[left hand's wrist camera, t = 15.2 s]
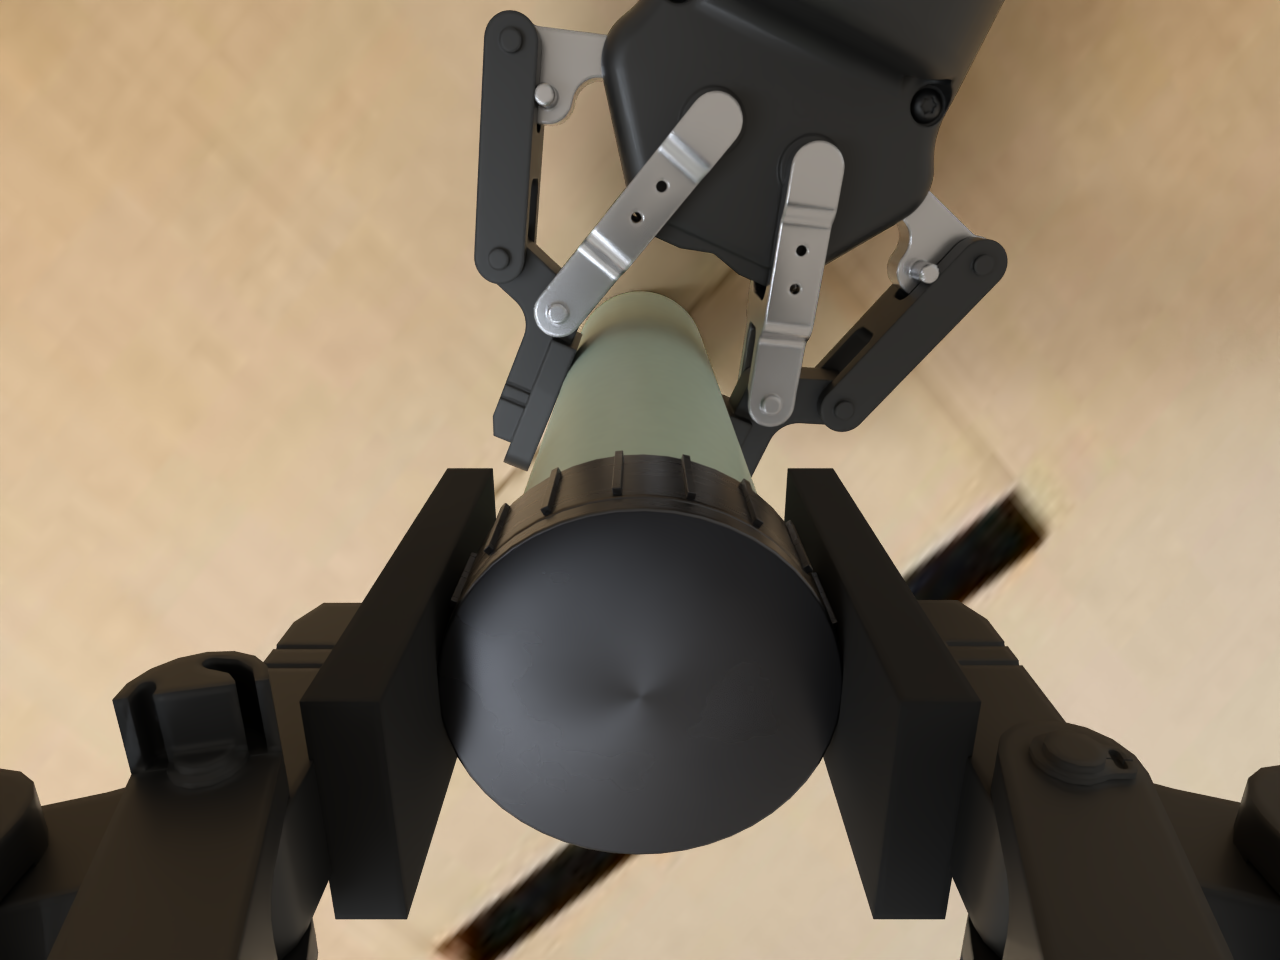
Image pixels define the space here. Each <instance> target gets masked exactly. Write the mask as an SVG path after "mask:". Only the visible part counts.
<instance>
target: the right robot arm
mask: <svg viewBox="0 0 1280 960" xmlns="http://www.w3.org/2000/svg"><path fill="white" fill-rule="evenodd" d="M1003 2H1004V0H639V1H638V2H637V3H636V5H635V6H634V7H633V8H632V9H630V10H629V11H628V12H627V13H626V14H625V15H623V16H622V17H621V18H620V19H619V20H618V21H617V22H616V23H615V24H614V25H613V27H612V28H611V30H610V31H609V33H608V35H602V34H595V33H587V32H579V31H571V30H564V29H556V28H548V27H540V26H536V25H534V24H533V23H532V22H531V21H530V19H529V18H528V17H526V16H525V15H524V14H522V13H520V12H517V11H512V10H507V11H502V12H500V13H498V14H496V15H495V16H494V17H493V18H492V19H491V20H490V21H489V23H488V25H487V27H486V30H485V35H484V54H483V76H482V98H481V120H480V142H479V164H478V186H477V208H476V230H475V252H474V260H475V265H476V268H477V270H478V271H479V273H480V274H481V275H482V277H484V278H485V279H486V280H488V281H489V282H492V283H495V284H497V285H499V286H500V287H501V288H502V289H503V290H504V291H505V292H506V293H507V294H508V295H510V296H511V297H512V298H513V299H514V300H515V301H516V302H517V303H518V304H519V306H520V307H521V309H522V311H523V313H524V316H525V320H526V330H525V334H524V337H523V340H522V342H521V345H520V347H519V350H518V353H517V355H516V358H515V360H514V363H513V366H512V368H511V371H510V373H509V376H508V379H507V381H506V384H505V386H504V389H503V391H502V394H501V397H500V399H499V402H498V404H497V407H496V410H495V412H494V415H493V432H494V436H496V437H498V438H501V439H503V440H506V441H508V442H511V444H510V446H509V449H508V451H507V454H506V456H505V459H504V462H505V463H507V464H510V465H512V466H515V467H517V468H520V469H522V470H525V471H528V468H529V466H530V464H531V461H532V459H533V456H534V454H535V451H536V449H537V447H538V444H539V442H540V439H541V437H542V434H543V432H544V430H545V427H546V425H547V422H548V420H549V417H550V415H551V412H552V410H553V408H554V405H555V403H556V400H557V398H558V395H559V393H560V390H561V387H562V385H563V382H564V380H565V378H566V376H567V374H568V371H569V369H570V366H571V364H572V361H573V359H574V356H575V354H576V352H577V349H578V346H579V343H580V340H581V337H582V334H581V333H579V332H577V330H578V327H579V326H580V324H581V323H582V322H583V321H584V320H585V318H586V317H587V316H588V315H589V314H590V312H591V311H592V310H593V309H594V307H595V306H596V305H597V304H598V303H599V301H600V300H601V299H602V298H603V297H604V295H605V294H606V293H607V292H608V291H609V289H610V288H611V287H612V286H613V284H614V283H615V282H616V281H617V280H618V279H619V277H620V276H621V275H622V274H623V273H624V272H625V271H626V270H627V269H628V268H629V267H630V266H631V265H632V263H633V262H634V261H635V260H636V259H637V257H638V256H639V255H640V254H641V253H642V251H643V250H644V249H645V248H646V246H647V245H648V244H649V243H650V242H651V240H652V239H653V238H654V237H657V238H659V239H661V240H663V241H665V242H668V243H670V244H672V245H674V246H677V247H679V248H682V249H689V250H696V251H702V252H709V253H713V254H715V255H716V256H717V257H719V258H720V259H721V260H722V261H723V262H725V263H726V264H727V265H728V266H729V267H730V268H732V269H733V270H734V271H735V272H736V273H738V274H739V275H741V276H743V277H746V278H748V279H750V280H751V282H750V288H749V295H748V302H747V324H746V331H745V337H744V344H743V350H742V357H741V363H740V370H739V376H738V382H737V384H736V386H735V388H734V391H733V393H732V395H731V397H727V396H725V395H722V397H723V400H724V403H725V406H726V408H727V411H728V414H729V417H730V420H731V422H732V425H733V428H734V431H735V434H736V436H737V439H738V442H739V445H740V448H741V450H742V453H743V456H744V459H745V462H746V464H747V467H748V470H749V473H750V476H751V477H752V475H753V473H754V471H755V469H756V467H757V465H758V463H759V461H760V459H761V457H762V455H763V453H764V451H765V449H766V447H767V445H768V443H769V441H770V440H771V438H772V436H773V435H774V434H775V433H776V432H777V431H778V430H779V429H781V428H782V427H784V426H786V425H789V424H794V423H808V424H825V425H826V426H827V427H829V428H830V429H832V430H834V431H838V432H846V431H850V430H852V429H854V428H856V427H857V426H858V425H859V424H861V422H862V421H863V420H864V419H865V418H866V417H867V416H868V415H869V414H870V413H871V412H872V411H873V410H874V409H875V408H876V407H877V406H878V405H879V404H880V403H881V402H882V401H883V400H884V399H885V398H886V397H887V396H888V395H889V394H890V393H891V392H892V391H893V390H894V389H895V388H896V387H897V385H898V384H899V383H900V382H901V381H902V380H903V379H904V378H905V377H906V376H907V375H908V374H909V373H910V372H911V371H912V370H913V369H914V368H915V367H916V366H917V365H918V364H919V363H920V362H921V361H922V360H923V359H924V358H925V357H926V356H927V355H928V354H929V353H930V352H931V351H932V349H933V348H934V347H935V346H936V345H937V344H938V343H939V342H940V341H941V340H942V339H943V338H944V337H945V336H946V335H947V334H948V333H949V332H950V331H951V330H952V329H953V328H954V327H955V326H956V325H957V324H958V323H959V322H960V321H961V320H962V319H963V318H964V317H965V316H966V315H967V314H968V312H969V311H970V310H971V309H972V308H973V307H974V306H975V305H976V304H977V303H978V302H979V301H980V300H981V299H982V298H983V297H984V296H985V295H986V294H987V293H988V292H989V291H990V290H991V289H992V288H993V287H994V286H995V285H996V284H997V283H998V282H999V281H1000V279H1001V278H1002V277H1003V275H1004V273H1005V271H1006V268H1007V255H1006V252H1005V250H1004V248H1003V247H1002V246H1001V245H1000V244H999V243H997V242H996V241H993V240H989V239H986V238H984V237H981V236H976V235H974V234H973V233H972V232H971V231H970V230H969V229H968V228H967V227H965V226H964V225H963V224H962V223H961V222H960V221H959V220H958V219H957V218H956V217H955V216H954V215H953V214H952V213H951V212H950V211H949V210H948V209H947V208H946V207H945V206H944V205H943V204H942V203H941V202H940V201H939V200H938V199H937V198H936V197H935V196H934V195H933V194H932V193H931V192H930V191H929V190H930V187H931V184H932V180H933V175H934V148H935V142H936V137H937V133H938V130H939V127H940V124H941V122H942V120H943V118H944V116H945V114H946V112H947V110H948V108H949V107H950V105H951V103H952V101H953V100H954V98H955V96H956V94H957V92H958V90H959V88H960V86H961V84H962V82H963V80H964V78H965V76H966V74H967V72H968V70H969V69H970V67H971V65H972V63H973V61H974V59H975V57H976V55H977V53H978V51H979V49H980V47H981V45H982V43H983V41H984V39H985V37H986V35H987V33H988V31H989V29H990V28H991V26H992V24H993V22H994V20H995V18H996V16H997V14H998V12H999V10H1000V8H1001V6H1002V4H1003ZM597 81H604V86H605V91H606V95H607V100H608V105H609V109H610V114H611V119H612V123H613V128H614V132H615V137H616V142H617V146H618V151H619V156H620V160H621V165H622V170H623V174H624V179H625V183H626V188H625V189H624V191H623V192H622V193H621V195H620V196H619V197H618V198H617V200H616V201H615V202H614V203H613V205H612V206H611V207H610V208H609V210H608V211H607V212H606V213H605V215H604V216H603V217H602V218H601V220H600V221H599V222H598V223H597V225H596V226H595V227H594V228H593V230H592V231H591V232H590V233H589V235H588V236H587V237H586V238H585V240H584V241H583V242H582V243H581V245H580V246H579V247H578V248H577V250H576V251H575V252H574V253H573V255H572V256H571V257H570V258H569V260H568V261H567V262H566V264H565V265H564V266H563V267H562V268H561V267H560V266H559V265H558V264H556V263H555V262H554V261H553V260H552V259H551V258H550V257H549V256H548V255H547V254H546V253H545V252H544V251H543V250H542V249H541V248H539V247H538V246H537V245H536V237H537V222H538V208H539V194H540V179H541V165H542V151H543V136H544V125H545V126H557V125H560V124H562V123H564V122H565V121H566V120H568V119H569V117H570V116H571V114H572V113H573V110H574V107H575V103H576V99H577V96H578V95H579V93H580V91H581V90H582V89H583V88H584V87H585V86H587V85H588V84H590V83H593V82H597ZM634 212H635V214H636V215H634V214H633V213H634ZM895 224H897V226H898V228H899V242H898V245H897V247H896V249H895V251H894V252H893V254H892V255H891V257H890V259H889V261H888V265H887V273H888V277H889V279H890V281H891V282H892V283H893V284H892V285H891V286H890V287H889V288H888V289H887V290H886V292H885V293H884V294H883V295H882V296H881V297H880V298H879V299H878V300H877V301H876V302H875V303H874V304H873V306H872V307H871V308H870V309H869V310H868V311H867V312H866V313H865V314H864V315H863V316H862V317H861V318H860V320H859V321H858V322H857V323H856V324H855V325H854V326H853V327H852V328H851V329H850V330H849V331H848V332H847V333H846V335H845V336H844V337H843V338H842V339H841V340H840V341H839V342H838V343H837V344H836V345H835V346H834V347H833V349H832V350H831V351H830V352H829V353H828V354H827V355H826V356H825V357H824V358H823V359H822V360H821V361H820V362H819V364H818V365H817V366H816V367H815V368H807V367H802V361H803V355H804V350H805V346H806V343H807V341H808V340H809V338H810V336H811V333H812V330H813V325H814V320H815V314H816V309H817V303H818V298H819V292H820V287H821V281H822V276H823V270H824V265H826V264H828V263H830V262H831V261H833V260H835V259H836V258H838V257H840V256H842V255H843V254H845V253H847V252H848V251H850V250H852V249H854V248H855V247H857V246H859V245H860V244H862V243H864V242H866V241H867V240H869V239H871V238H873V237H874V236H876V235H878V234H879V233H881V232H883V231H885V230H886V229H888V228H890V227H891V226H893V225H895Z"/></svg>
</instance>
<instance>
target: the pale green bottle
mask: <svg viewBox="0 0 1280 960" xmlns="http://www.w3.org/2000/svg"><path fill="white" fill-rule="evenodd" d="M581 334H582V337H581V340H580V343H579V346H578V349H577V352H576V354H575V356H574V359H573V361H572V364H571V366H570V369H569V371H568V374H567V376H566V378H565V380H564V382H563V385H562V387H561V390H560V393H559V396H558V399H557V402H556V404H555V407H554V410H553V413H552V416H551V418H550V421H549V424H548V427H547V430H546V432H545V435H544V438H543V441H542V444H541V447H540V449H539V452H538V455H537V458H536V461H535V463H534V466H533V469H532V472H531V475H530V478H529V480H528V483H527V486H526V489H525V492H524V493H526V492H527V491H528V490H529V489H531V488H532V487H534V486H535V485H537V484H539V483H540V482H542V481H544V480H545V479H547V478H548V477H550V474H551V470H553V469H555V468H557V467H559V469H560V471H563V470H565V469H568V468H570V467H572V466H575V465H579V464H582V463H585V462H589V461H592V460H595V459H601V458H607V457H613V456H615V451H621V450H623V454H624V455H639V454H647V455H659V456H670V457H674V458H679V459H681V457H682V454H685V455H689V456H690V459H691V461H693V462H696V463H699V464H702V465H705V466H708V467H710V468H713V469H716V470H718V471H720V472H722V473H724V474H726V475H728V476H730V477H732V478H734V479H736V480H738V481H739V482H741V481H742V480H743V479H746V480H747V481H749V482H750V484H751V487H752V490H753V491H754V492H755V493H757V492H756V490H755V487H754V484H753V481H752V478H751V476H750V473H749V470H748V467H747V464H746V462H745V459H744V456H743V453H742V450H741V448H740V445H739V442H738V439H737V436H736V434H735V431H734V428H733V425H732V422H731V420H730V417H729V414H728V411H727V408H726V406H725V403H724V400H723V397H722V394H721V392H720V389H719V386H718V383H717V381H716V378H715V375H714V372H713V369H712V367H711V364H710V361H709V358H708V355H707V353H706V350H705V347H704V344H703V341H702V339H701V336H700V333H699V331H698V328H697V326H696V324H695V322H694V321H693V319H692V318H691V316H690V315H689V314H688V313H687V311H686V310H685V309H683V308H682V307H681V306H680V305H679V304H677V303H676V302H675V301H673V300H671V299H669V298H668V297H665V296H663V295H660V294H657V293H652V292H645V291H634V292H628V293H623V294H620V295H617V296H615V297H613V298H611V299H609V300H607V301H606V302H604V303H603V304H601V305H600V306H599V307H598V308H597V309H596V310H595V311H594V312H593V313H592V314H591V315H590V317H589V318H588V320H587V321H586V323H585V325H584V327H583V329H582V331H581Z"/></svg>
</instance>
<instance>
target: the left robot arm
mask: <svg viewBox="0 0 1280 960" xmlns="http://www.w3.org/2000/svg"><path fill="white" fill-rule="evenodd" d="M789 520H791V522H792V523H793V524H794V526H795V529H796V531H797V533H798V536H799V538H800V540H801V543H802V545H803V547H804V550H805V552H806V554H807V557H808V559H809V561H810V564H811V566H812V568H813V571H811V573H814V572H816V573H817V575H818V578H819V580H820V582H821V585H822V587H823V589H824V592H825V594H826V596H827V598H828V601H829V603H830V605H831V608H832V610H833V612H834V615H835V617H836V619H837V621H838V628H837V629H835V631H836V634H837V638H838V642H839V645H840V649H841V653H842V662H843V683H842V694H841V704H840V713H839V719H838V723H837V726H836V729H835V731H834V734H833V737H832V740H831V742H830V744H829V746H828V748H827V750H826V752H825V754H824V756H823V758H824V761H825V764H826V767H827V771H828V774H829V777H830V780H831V783H832V787H833V790H834V793H835V796H836V800H837V803H838V806H839V809H840V813H841V816H842V819H843V822H844V825H845V829H846V832H847V835H848V838H849V842H850V845H851V848H852V851H853V855H854V858H855V861H856V864H857V867H858V871H859V874H860V877H861V880H862V884H863V887H864V890H865V893H866V897H867V900H868V903H869V906H870V910H871V913H872V916H873V919H945V916H946V910H947V904H948V898H949V892H950V886H951V880H952V877H953V880H954V882H955V884H956V887H957V889H958V891H959V893H960V896H961V898H962V900H963V903H964V905H965V907H966V909H967V912H968V918H967V923H966V929H965V934H964V940H963V946H962V951H961V957H960V960H1280V765H1278V766H1271V767H1264V768H1260V769H1259V770H1258V771H1257V772H1255V773H1254V774H1253V775H1252V776H1250V777H1249V778H1248V781H1247V784H1246V787H1245V791H1244V794H1243V797H1242V800H1241V803H1240V802H1235V801H1230V800H1225V799H1220V798H1215V797H1211V796H1206V795H1201V794H1196V793H1191V792H1187V791H1182V790H1177V789H1173V788H1169V787H1165V786H1162V785H1158V784H1154V783H1153V782H1152V780H1151V777H1150V775H1149V773H1148V772H1147V771H1146V769H1145V768H1144V767H1143V765H1142V764H1141V763H1140V761H1139V760H1138V759H1137V757H1136V756H1135V755H1134V754H1132V753H1131V752H1130V751H1128V750H1127V749H1125V748H1124V747H1123V746H1121V745H1120V744H1119V743H1117V742H1116V741H1114V740H1113V739H1111V738H1109V737H1106V736H1104V735H1102V734H1100V733H1097V732H1095V731H1093V730H1091V729H1088V728H1086V727H1082V726H1078V725H1074V724H1070V723H1066V722H1065V721H1064V719H1063V718H1062V717H1061V715H1060V714H1059V713H1058V711H1057V710H1056V709H1055V707H1054V706H1053V705H1052V704H1051V702H1050V701H1049V700H1048V698H1047V697H1046V696H1045V694H1044V693H1043V692H1042V690H1041V689H1040V688H1039V687H1038V685H1037V684H1036V683H1035V681H1034V680H1033V679H1032V677H1031V676H1030V675H1029V673H1028V672H1027V671H1026V670H1025V668H1024V667H1023V666H1022V665H1019V660H1018V659H1017V658H1016V656H1015V655H1014V654H1013V653H1012V651H1011V650H1010V649H1009V647H1008V646H1005V645H1004V641H1003V639H1002V638H1001V637H1000V636H999V634H998V633H997V632H996V630H995V629H994V628H993V626H992V625H991V624H990V622H989V621H988V620H987V619H986V618H984V617H983V616H981V615H979V614H978V613H976V612H975V611H973V610H972V609H970V608H969V607H967V606H965V605H964V604H962V603H961V602H959V601H958V600H916V598H915V596H914V595H913V593H912V592H911V590H910V589H909V587H908V585H907V584H906V582H905V581H904V579H903V578H902V576H901V574H900V573H899V571H898V570H897V568H896V567H895V565H894V564H893V562H892V560H891V559H890V557H889V556H888V554H887V553H886V551H885V549H884V548H883V546H882V545H881V543H880V542H879V540H878V538H877V537H876V535H875V534H874V532H873V531H872V529H871V527H870V526H869V524H868V523H867V521H866V520H865V518H864V516H863V515H862V513H861V512H860V510H859V509H858V507H857V505H856V504H855V502H854V501H853V499H852V498H851V496H850V494H849V493H848V491H847V490H846V488H845V487H844V485H843V483H842V482H841V480H840V479H839V477H838V476H837V474H836V472H835V471H834V469H833V468H788V473H787V488H786V504H785V519H784V522H785V523H786V522H787V521H789ZM495 521H496V511H495V496H494V480H493V468H448V469H447V470H446V472H445V473H444V475H443V476H442V478H441V480H440V481H439V483H438V484H437V486H436V487H435V489H434V491H433V492H432V494H431V495H430V497H429V498H428V500H427V502H426V503H425V505H424V506H423V508H422V509H421V511H420V513H419V514H418V516H417V517H416V519H415V520H414V522H413V524H412V525H411V527H410V528H409V530H408V531H407V533H406V535H405V536H404V538H403V539H402V541H401V542H400V544H399V546H398V547H397V549H396V550H395V552H394V553H393V555H392V557H391V558H390V560H389V561H388V563H387V564H386V566H385V568H384V569H383V571H382V572H381V574H380V575H379V577H378V579H377V580H376V582H375V583H374V585H373V586H372V588H371V589H370V591H369V593H368V594H367V596H366V597H365V599H364V600H363V602H362V603H323V604H321V605H320V606H318V607H317V608H315V609H314V610H312V611H310V612H309V613H307V614H306V615H304V616H303V617H301V618H300V619H298V620H297V621H295V622H294V623H293V624H292V625H291V627H290V628H289V629H288V631H287V632H286V633H285V635H284V636H283V637H282V638H281V640H280V641H279V642H278V644H277V649H273V650H272V652H271V653H270V654H269V656H268V657H267V658H266V660H265V661H264V662H262V661H261V660H260V659H258V658H257V657H256V656H253V655H249V654H245V653H240V652H236V651H223V652H205V653H200V654H196V655H191V656H186V657H181V658H177V659H175V660H172V661H170V662H167V663H165V664H162V665H159V666H157V667H154V668H152V669H150V670H148V671H146V672H145V673H143V674H142V675H140V676H138V677H137V678H135V679H134V680H132V681H130V682H129V683H127V684H126V685H125V686H124V687H123V689H122V690H121V691H120V692H119V693H118V694H117V695H116V696H115V698H114V699H113V700H112V701H113V705H114V709H115V713H116V716H117V720H118V724H119V728H120V732H121V736H122V740H123V743H124V747H125V751H126V755H127V759H128V763H129V767H130V771H131V774H132V775H131V777H130V779H129V781H128V783H127V785H126V787H125V788H122V789H118V790H114V791H111V792H107V793H102V794H97V795H93V796H88V797H83V798H78V799H73V800H69V801H64V802H59V803H54V804H49V805H45V806H41V805H40V801H39V798H38V795H37V792H36V788H35V785H34V782H33V781H32V780H30V779H29V778H28V777H27V776H25V775H24V774H23V773H22V772H20V771H13V770H6V769H0V960H317V958H318V949H317V942H316V934H315V929H314V923H313V918H312V917H313V915H314V913H315V910H316V908H317V906H318V904H319V901H320V899H321V897H322V894H323V892H324V890H325V887H326V885H327V883H328V881H329V883H330V889H331V895H332V901H333V907H334V913H335V919H407V918H408V914H409V911H410V908H411V905H412V901H413V898H414V895H415V892H416V889H417V885H418V882H419V879H420V876H421V872H422V869H423V866H424V863H425V859H426V856H427V853H428V850H429V847H430V843H431V840H432V837H433V834H434V830H435V827H436V824H437V821H438V817H439V814H440V811H441V808H442V804H443V801H444V798H445V795H446V792H447V788H448V785H449V782H450V779H451V775H452V772H453V769H454V766H455V762H456V759H457V755H456V753H455V751H454V749H453V747H452V745H451V742H450V740H449V738H448V736H447V733H446V730H445V726H444V723H443V720H442V717H441V708H440V699H439V688H438V675H437V666H438V660H439V653H440V647H441V643H442V640H443V637H444V634H445V631H446V628H447V625H448V622H449V619H450V617H451V615H452V612H453V610H454V608H451V607H449V606H448V605H449V603H450V600H451V598H452V595H453V593H454V591H455V589H456V586H457V584H458V582H459V579H460V577H461V575H462V573H463V570H464V568H465V566H466V563H467V561H468V559H469V557H470V554H471V552H473V553H476V554H477V553H478V551H479V549H480V547H481V545H482V543H483V541H484V539H485V537H486V536H487V534H488V533H489V531H490V530H491V528H492V527H493V526H494V523H495Z"/></svg>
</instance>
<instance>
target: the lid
mask: <svg viewBox="0 0 1280 960" xmlns="http://www.w3.org/2000/svg"><path fill="white" fill-rule="evenodd" d="M811 571H813V568H812V566H811V564H810V561H809V559H808V557H807V554H806V552H805V550H804V547H803V545H802V543H801V540H800V538H799V536H798V533H797V531H796V529H795V526H794V524H793V523H792V522H791V520H789V521H787V522H786V523H785V522H784V521H783V520H782V518H781V517H780V516H779V515H778V514H777V512H776V511H775V510H774V509H773V508H772V507H771V506H770V505H769V504H768V503H767V502H766V501H764V500H763V499H762V498H761V497H760V496H759V495H758V494H757V493H755V492H754V491H753V490H752V487H751V484H750V482H749V481H747V480H746V479H743V480H742V481H741V482H739V481H738V480H736V479H734V478H732V477H730V476H728V475H726V474H724V473H722V472H720V471H718V470H716V469H713V468H710V467H708V466H705V465H702V464H699V463H696V462H693V461H691V459H690V456H689V455H685V454H682V457H681V459H679V458H674V457H670V456H659V455H647V454H639V455H624V454H623V450H621V451H615V456H613V457H607V458H601V459H595V460H592V461H589V462H585V463H582V464H579V465H575V466H572V467H570V468H568V469H565V470H563V471H560V469H559V467H557V468H555V469H553V470H551V474H550V477H548V478H547V479H545V480H544V481H542V482H540V483H539V484H537V485H535V486H534V487H532V488H531V489H529V490H528V491H527V492H526V493H524V494H523V495H522V496H521V497H520V498H518V499H517V500H516V501H515V502H513V503H512V505H511V506H509V505H508V504H507V503H505V504H504V505H503V506H502V507H501V508H500V511H499V513H498V516H497V518H496V521H495V523H494V526H493V527H492V528H491V530H490V531H489V533H488V534H487V536H486V537H485V539H484V541H483V543H482V545H481V547H480V549H479V551H478V553H477V554H476V553H473V552H471V554H470V557H469V559H468V561H467V563H466V566H465V568H464V570H463V573H462V575H461V577H460V579H459V582H458V584H457V586H456V589H455V591H454V593H453V595H452V598H451V600H450V603H449V605H448V606H449V607H451V608H454V610H453V612H452V615H451V617H450V619H449V622H448V625H447V628H446V631H445V634H444V637H443V640H442V643H441V647H440V653H439V660H438V666H437V675H438V688H439V699H440V708H441V717H442V720H443V723H444V726H445V730H446V733H447V736H448V738H449V740H450V742H451V745H452V747H453V749H454V751H455V753H456V755H457V757H458V758H459V760H460V762H461V763H462V765H463V766H464V768H465V769H466V771H467V772H468V774H469V775H470V776H471V778H472V779H473V780H474V781H475V782H476V783H477V784H478V786H479V787H480V788H481V789H482V790H483V791H484V792H485V793H486V794H487V795H488V796H489V797H490V798H491V799H492V800H493V801H495V802H496V803H497V804H498V805H499V806H500V807H501V808H502V809H504V810H505V811H507V812H508V813H510V814H511V815H512V816H514V817H515V818H517V819H518V820H520V821H521V822H523V823H525V824H527V825H528V826H530V827H532V828H534V829H536V830H538V831H540V832H541V833H544V834H546V835H548V836H551V837H553V838H556V839H558V840H561V841H563V842H566V843H570V844H573V845H577V846H581V847H584V848H588V849H593V850H599V851H605V852H611V853H623V854H661V853H668V852H676V851H683V850H688V849H692V848H696V847H700V846H704V845H708V844H711V843H714V842H717V841H719V840H722V839H725V838H728V837H730V836H733V835H735V834H737V833H739V832H741V831H743V830H745V829H747V828H749V827H751V826H753V825H754V824H756V823H758V822H759V821H761V820H762V819H764V818H765V817H767V816H768V815H770V814H772V813H773V812H774V811H775V810H777V809H778V808H779V807H780V806H781V805H783V804H784V803H785V802H786V801H787V800H789V799H790V798H791V797H792V796H793V795H794V794H795V793H796V792H797V791H798V790H799V788H800V787H801V786H802V785H803V784H804V783H805V782H806V781H807V780H808V778H809V777H810V775H811V774H812V773H813V771H814V770H815V769H816V767H817V766H818V764H819V763H820V761H821V759H822V758H823V756H824V754H825V752H826V750H827V748H828V746H829V744H830V742H831V740H832V737H833V734H834V731H835V729H836V726H837V723H838V719H839V713H840V704H841V694H842V683H843V662H842V653H841V649H840V645H839V642H838V638H837V634H836V631H835V629H837V628H838V621H837V619H836V617H835V615H834V612H833V610H832V608H831V605H830V603H829V601H828V598H827V596H826V594H825V592H824V589H823V587H822V585H821V582H820V580H819V578H818V575H817V573H816V572H814V573H811Z"/></svg>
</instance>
